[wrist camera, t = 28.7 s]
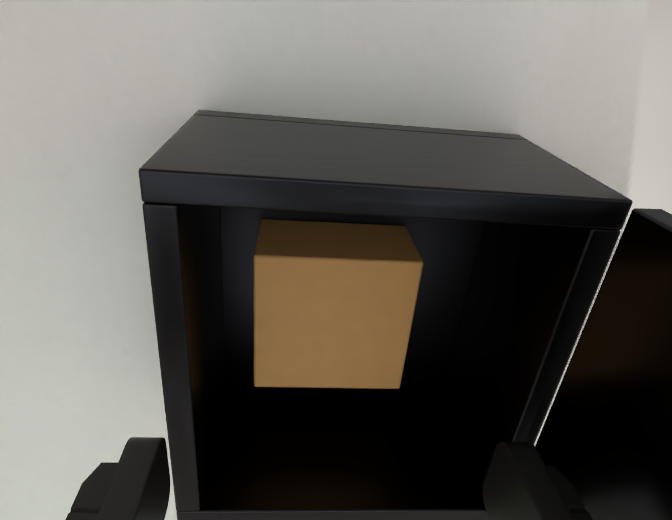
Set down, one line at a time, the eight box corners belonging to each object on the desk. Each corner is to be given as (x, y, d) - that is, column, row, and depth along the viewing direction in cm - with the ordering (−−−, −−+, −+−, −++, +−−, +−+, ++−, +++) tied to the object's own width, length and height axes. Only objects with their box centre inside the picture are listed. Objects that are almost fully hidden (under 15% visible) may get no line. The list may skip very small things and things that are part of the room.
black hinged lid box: (210, 385, 22) (177, 526, 16) (197, 109, 16) (136, 168, 10) (450, 390, 23) (502, 523, 17) (519, 134, 17) (634, 200, 11)
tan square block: (260, 218, 17) (253, 255, 15) (406, 225, 18) (424, 262, 15) (259, 337, 20) (253, 387, 17) (387, 340, 20) (400, 389, 18)
